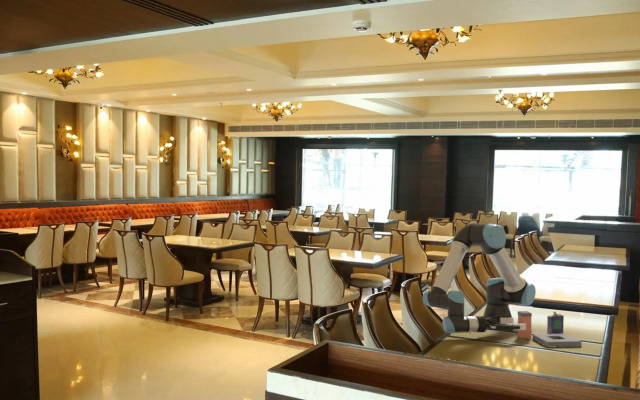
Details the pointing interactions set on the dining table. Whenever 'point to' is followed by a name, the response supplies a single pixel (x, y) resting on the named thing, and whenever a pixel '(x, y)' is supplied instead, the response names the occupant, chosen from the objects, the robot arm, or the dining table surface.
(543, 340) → the socket plate
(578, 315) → the dining table surface
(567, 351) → the dining table surface
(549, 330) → the flask
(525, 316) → the plug
